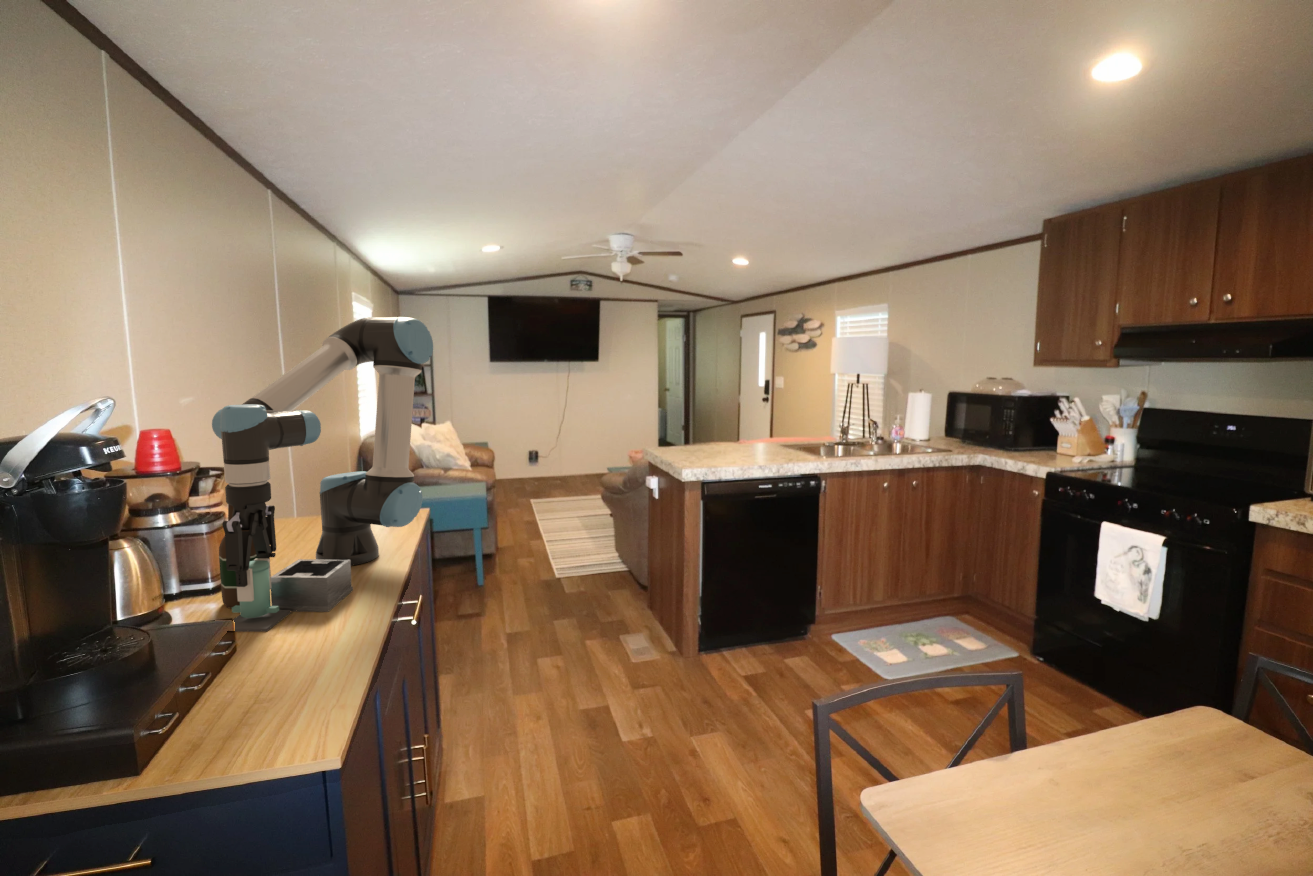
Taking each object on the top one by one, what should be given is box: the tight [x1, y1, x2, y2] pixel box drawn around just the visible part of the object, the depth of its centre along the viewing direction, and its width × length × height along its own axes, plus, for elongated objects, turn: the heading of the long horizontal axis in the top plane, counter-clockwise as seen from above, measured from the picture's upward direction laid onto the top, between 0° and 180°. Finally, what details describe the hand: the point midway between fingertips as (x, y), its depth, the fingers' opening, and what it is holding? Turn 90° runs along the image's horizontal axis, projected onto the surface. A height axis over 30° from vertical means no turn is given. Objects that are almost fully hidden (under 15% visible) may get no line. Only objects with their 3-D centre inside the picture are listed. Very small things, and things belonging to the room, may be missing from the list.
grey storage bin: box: [270, 558, 354, 613], centre depth 135 cm, size 12×12×8 cm
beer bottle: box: [218, 504, 259, 609], centre depth 133 cm, size 8×8×24 cm
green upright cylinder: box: [231, 560, 279, 618], centre depth 124 cm, size 9×6×10 cm, turn 93°
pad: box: [233, 610, 292, 633], centre depth 125 cm, size 9×9×1 cm
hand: (255, 594), depth 124 cm, fingers closed on green upright cylinder, 5 cm apart
